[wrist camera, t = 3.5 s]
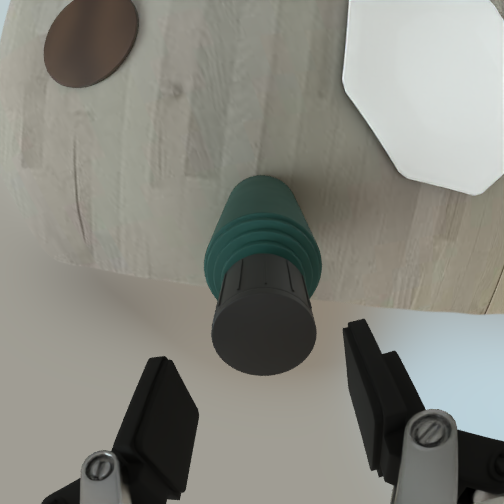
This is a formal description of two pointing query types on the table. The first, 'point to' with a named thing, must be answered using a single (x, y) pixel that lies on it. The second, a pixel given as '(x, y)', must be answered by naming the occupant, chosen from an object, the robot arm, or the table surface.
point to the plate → (431, 86)
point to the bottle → (262, 232)
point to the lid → (90, 41)
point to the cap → (263, 316)
